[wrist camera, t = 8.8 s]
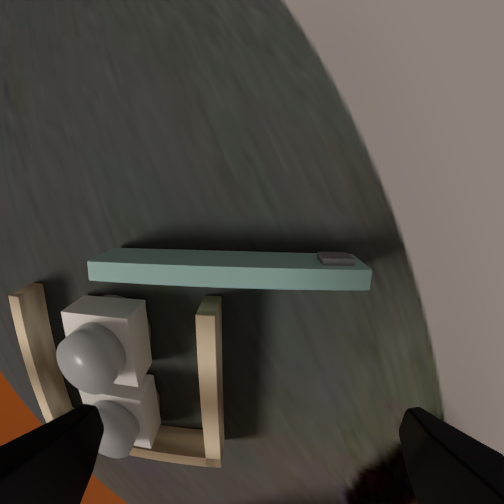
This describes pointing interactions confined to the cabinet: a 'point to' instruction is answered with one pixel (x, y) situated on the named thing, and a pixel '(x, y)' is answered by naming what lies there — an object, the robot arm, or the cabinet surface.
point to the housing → (168, 438)
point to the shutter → (232, 269)
